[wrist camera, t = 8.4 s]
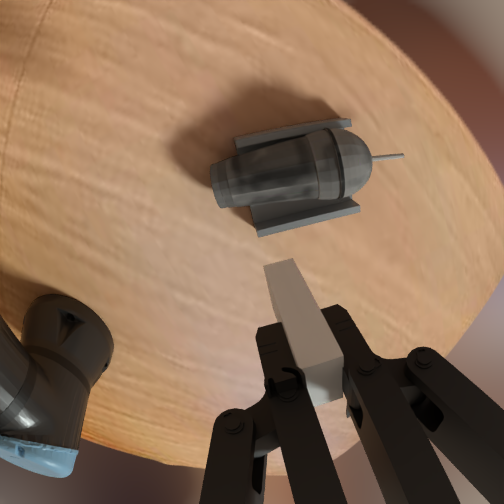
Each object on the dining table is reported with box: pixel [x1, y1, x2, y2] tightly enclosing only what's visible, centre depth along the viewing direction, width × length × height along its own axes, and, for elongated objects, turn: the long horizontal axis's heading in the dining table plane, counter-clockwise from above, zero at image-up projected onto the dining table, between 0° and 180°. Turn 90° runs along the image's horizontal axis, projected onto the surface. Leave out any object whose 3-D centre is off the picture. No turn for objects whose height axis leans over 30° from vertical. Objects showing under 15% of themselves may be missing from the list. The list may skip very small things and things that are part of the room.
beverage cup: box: [210, 128, 404, 208], centre depth 28 cm, size 7×7×20 cm
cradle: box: [234, 118, 360, 238], centre depth 31 cm, size 12×11×2 cm
